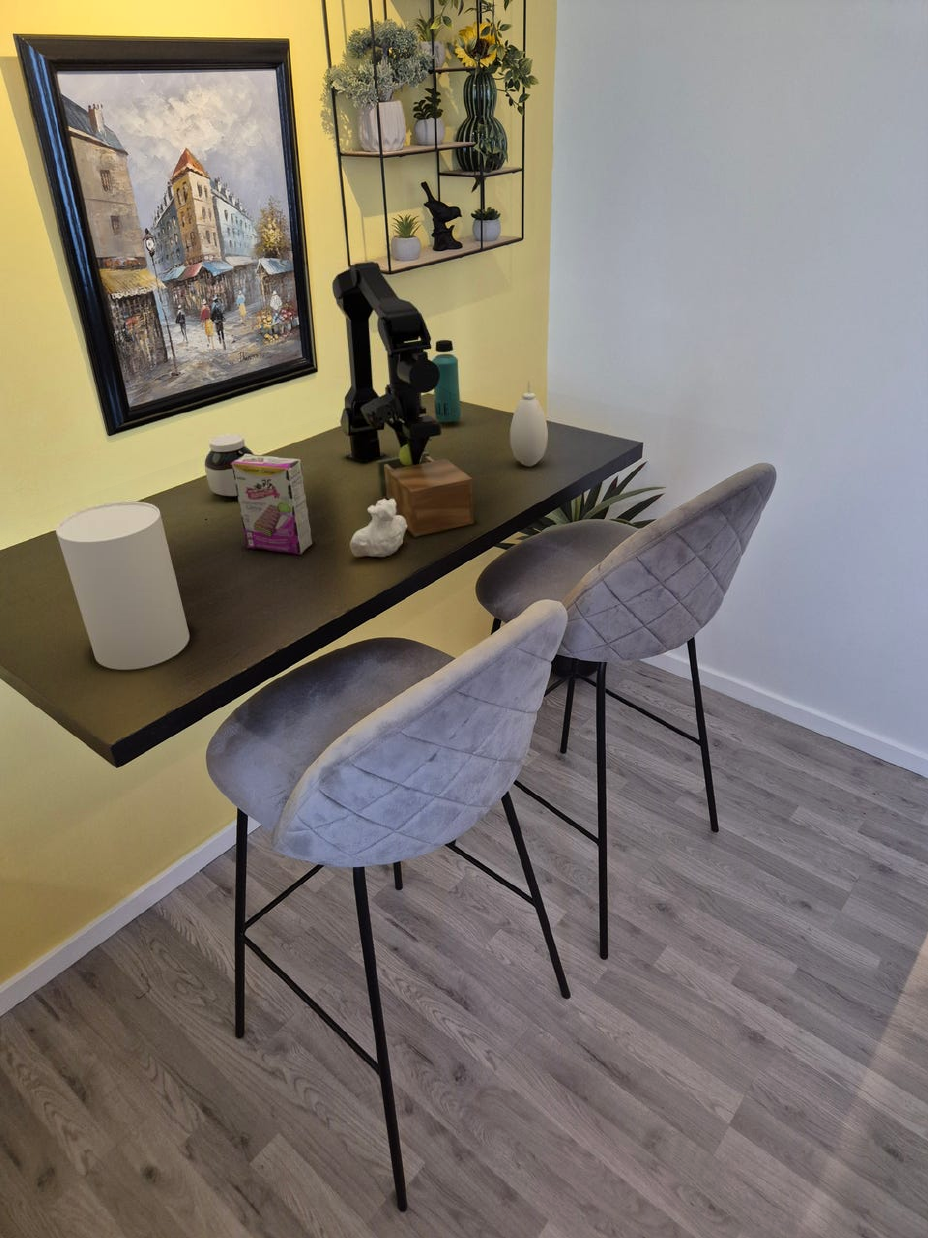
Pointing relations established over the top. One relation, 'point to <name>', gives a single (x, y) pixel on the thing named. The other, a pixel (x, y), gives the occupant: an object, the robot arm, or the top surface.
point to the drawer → (390, 465)
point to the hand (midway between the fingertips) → (411, 460)
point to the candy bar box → (272, 503)
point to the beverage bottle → (447, 384)
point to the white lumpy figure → (380, 531)
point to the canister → (124, 583)
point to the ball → (406, 456)
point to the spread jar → (224, 464)
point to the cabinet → (432, 496)
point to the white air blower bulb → (528, 430)
